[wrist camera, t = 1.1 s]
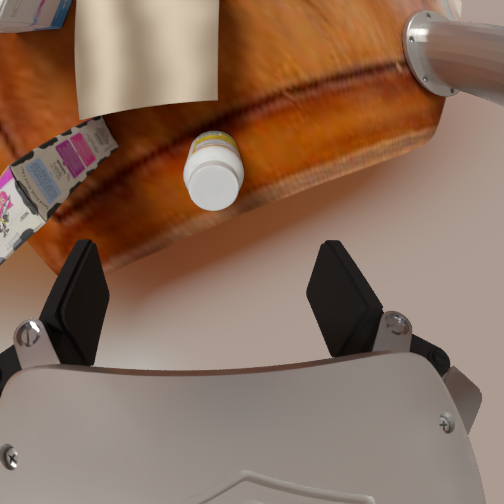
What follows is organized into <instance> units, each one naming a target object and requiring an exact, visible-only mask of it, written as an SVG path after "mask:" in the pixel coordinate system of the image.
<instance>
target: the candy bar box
mask: <svg viewBox="0 0 504 504" xmlns="http://www.w3.org/2000/svg"><path fill="white" fill-rule="evenodd" d="M118 148H119V145H118V144H117V142H116V140H115V138H114V137H113V135H112V134H111V132H110V130H109V128H108V126H107V124H106V122H105V121H104V119H103V117H102V116H101V115H100V116H96V117H94V118H92V119H90V120H87V121H85V122H83V123H81V124H79V125H77V126H75V127H73V128H71V129H69V130H68V131H66V132H64V133H62V134H60V135H58V136H56V137H54V138H52V139H51V140H49V141H47V142H45V143H44V144H42V145H40V146H39V147H37V148H35V149H34V150H32V151H30V152H29V153H27V154H26V155H24V156H23V157H21V158H20V159H18V160H17V161H15V162H14V163H13V164H11V165H9V166H8V167H7V168H6V170H5V171H4V172H3V173H2V175H1V176H0V265H1V264H2V263H3V262H4V261H5V260H6V259H7V258H8V257H9V256H10V255H11V254H12V253H13V252H14V251H15V250H17V249H18V248H19V247H20V246H21V245H22V244H23V243H24V242H25V241H26V240H28V239H29V238H30V237H31V236H32V235H33V234H34V233H36V232H37V230H39V229H40V228H41V227H42V226H43V225H44V224H45V223H46V222H47V221H48V219H49V218H50V217H51V215H52V214H53V213H54V212H55V211H56V210H57V208H58V207H59V206H60V205H61V204H62V203H63V202H64V201H65V200H66V198H67V197H68V196H69V195H70V194H71V193H72V192H73V191H74V190H75V189H76V188H77V187H78V186H79V185H80V184H81V183H82V181H84V179H86V178H87V176H88V175H89V174H90V173H92V172H93V171H94V170H95V169H96V168H97V167H98V166H99V165H100V164H101V163H102V162H103V161H104V160H105V159H106V158H107V157H109V156H110V155H111V154H112V153H113V152H114V151H115V150H116V149H118Z"/></svg>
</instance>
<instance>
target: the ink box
mask: <svg viewBox="0 0 504 504" xmlns="http://www.w3.org/2000/svg"><path fill="white" fill-rule="evenodd" d="M71 3H72V0H0V33H19V32H27V31H36V30H49V29H60V28H62V25H63V23H64V20H65V17H66V15H67V12H68V10H69V7H70V5H71Z"/></svg>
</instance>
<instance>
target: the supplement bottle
mask: <svg viewBox="0 0 504 504" xmlns="http://www.w3.org/2000/svg"><path fill="white" fill-rule="evenodd" d="M243 179H244V169H243V165H242V161H241V158H240V154H239V151H238V147H237V145H236V143H235V141H234V140H233V138H232V137H230V136H229V135H228V134H226V133H224V132H220V131H208V132H205V133H203V134H201V135H199V136H198V137H197V138H196V139H195V140H194V141H193V143H192V145H191V147H190V151H189V154H188V157H187V161H186V164H185V168H184V182H185V185H186V187H187V189H188V191H189V194H190V197H191V199H192V201H193V202H194V203H195V204H196V205H197V206H199V207H200V208H203V209H205V210H210V211H217V210H222V209H224V208H226V207H228V206H230V205H231V204H232V203H233V202H234V201H235V199H236V197H237V195H238V192H239V189H240V187H241V185H242V183H243Z"/></svg>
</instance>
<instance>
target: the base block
mask: <svg viewBox="0 0 504 504" xmlns="http://www.w3.org/2000/svg"><path fill="white" fill-rule="evenodd" d="M218 23H219V0H77V2H76V16H75V75H76V89H77V100H78V109H79V117H80V120H83V119H87V118H91V117H95V116H100V115H104V114H109V113H114V112H119V111H124V110H130V109H136V108H142V107H149V106H156V105H164V104H173V103H183V102H195V101H211V100H218Z"/></svg>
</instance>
